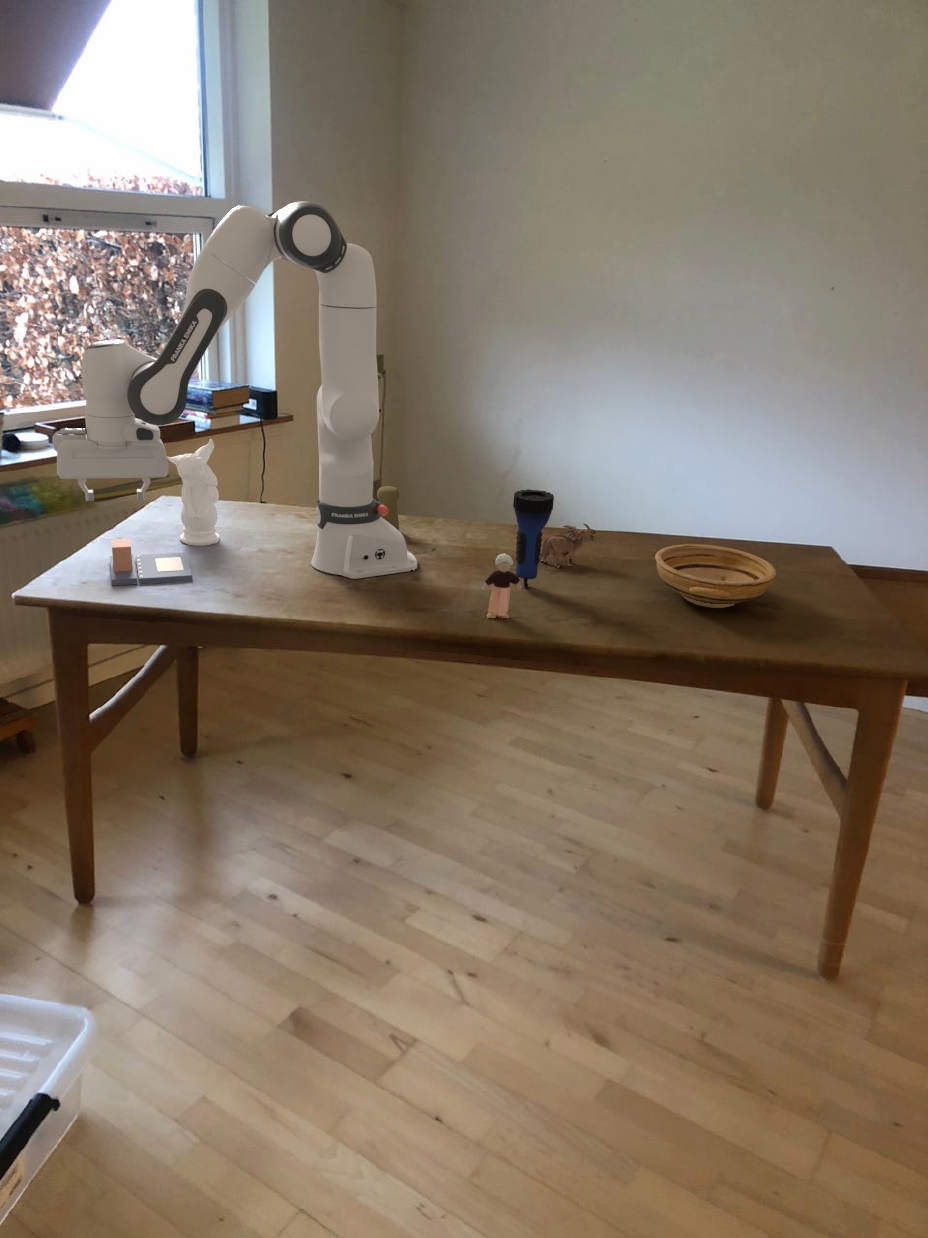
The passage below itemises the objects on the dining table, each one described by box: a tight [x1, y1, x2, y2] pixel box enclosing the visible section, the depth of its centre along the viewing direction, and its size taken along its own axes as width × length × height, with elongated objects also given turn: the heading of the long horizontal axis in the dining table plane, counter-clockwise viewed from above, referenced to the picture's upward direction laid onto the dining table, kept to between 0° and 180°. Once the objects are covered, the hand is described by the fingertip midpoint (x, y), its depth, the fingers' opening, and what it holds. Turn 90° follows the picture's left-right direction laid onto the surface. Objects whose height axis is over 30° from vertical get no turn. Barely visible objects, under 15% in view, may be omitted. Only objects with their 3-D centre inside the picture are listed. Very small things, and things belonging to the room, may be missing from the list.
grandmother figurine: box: [480, 553, 522, 619], centre depth 180 cm, size 8×4×13 cm, turn 114°
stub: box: [109, 538, 138, 586], centre depth 190 cm, size 5×14×6 cm, turn 20°
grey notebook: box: [135, 552, 193, 585], centre depth 194 cm, size 10×14×1 cm
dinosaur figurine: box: [539, 523, 597, 566], centre depth 211 cm, size 14×6×9 cm, turn 116°
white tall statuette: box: [167, 438, 221, 547], centre depth 210 cm, size 12×12×22 cm
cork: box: [376, 485, 400, 530], centre depth 224 cm, size 6×6×11 cm
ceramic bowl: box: [654, 543, 777, 604], centre depth 197 cm, size 30×24×8 cm
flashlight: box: [512, 488, 555, 589], centre depth 193 cm, size 8×8×20 cm
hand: (115, 499), depth 185 cm, fingers open, 8 cm apart
